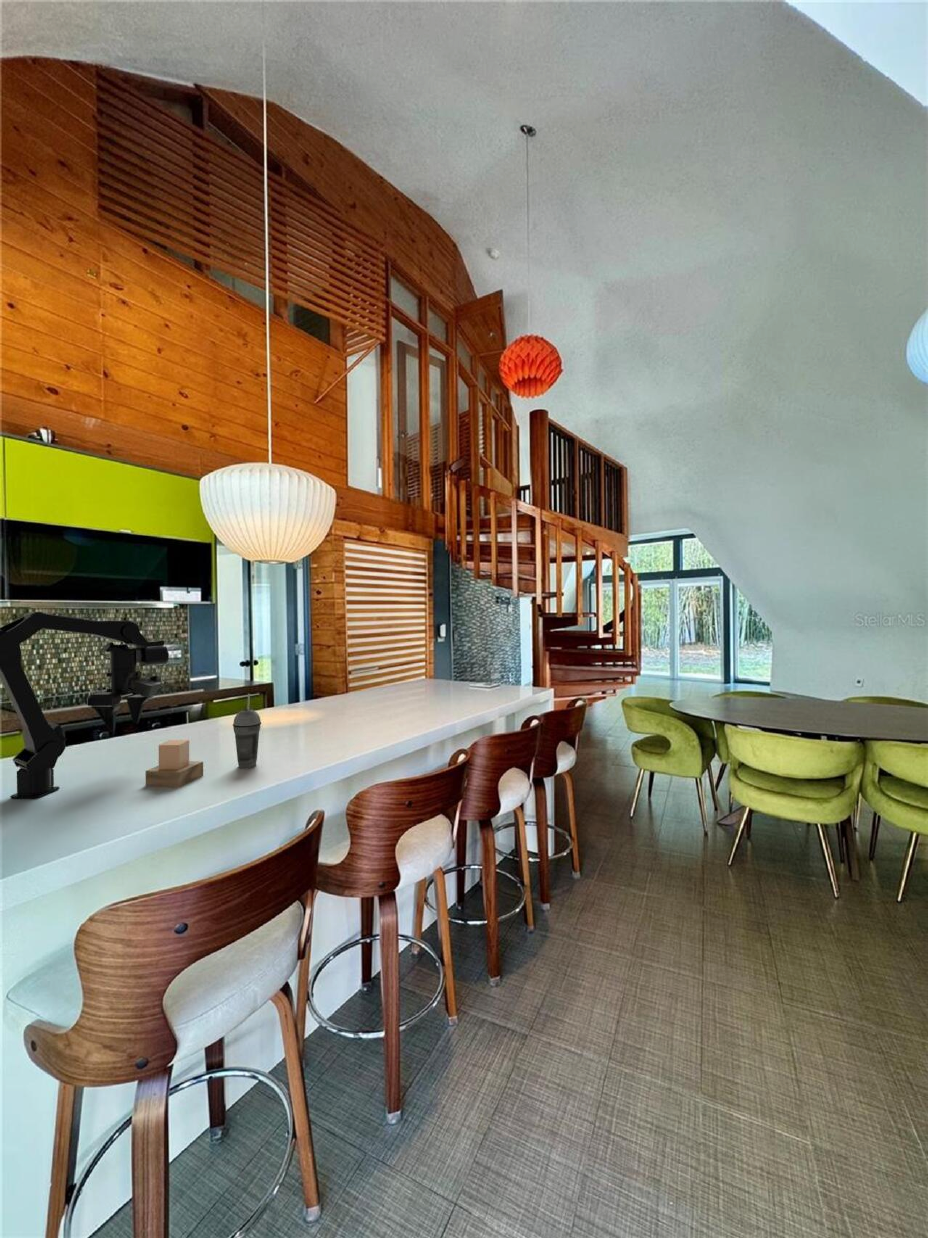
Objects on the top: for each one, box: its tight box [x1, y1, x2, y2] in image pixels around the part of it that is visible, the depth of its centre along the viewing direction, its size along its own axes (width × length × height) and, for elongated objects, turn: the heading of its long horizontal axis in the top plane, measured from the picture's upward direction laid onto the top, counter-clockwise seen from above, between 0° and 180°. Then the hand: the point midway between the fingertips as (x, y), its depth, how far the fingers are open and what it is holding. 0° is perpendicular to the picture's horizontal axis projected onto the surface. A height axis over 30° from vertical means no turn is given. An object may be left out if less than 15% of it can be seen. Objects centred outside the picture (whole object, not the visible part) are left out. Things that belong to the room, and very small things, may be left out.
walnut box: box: [145, 760, 204, 788], centre depth 128 cm, size 9×9×4 cm
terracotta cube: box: [158, 739, 190, 770], centre depth 128 cm, size 5×5×6 cm
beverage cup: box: [232, 693, 262, 769], centre depth 140 cm, size 7×7×20 cm
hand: (124, 727), depth 134 cm, fingers open, 9 cm apart
